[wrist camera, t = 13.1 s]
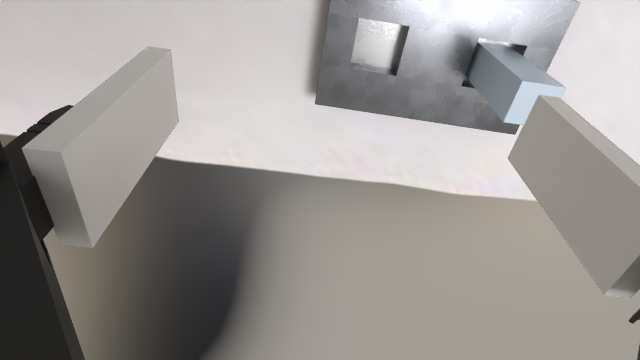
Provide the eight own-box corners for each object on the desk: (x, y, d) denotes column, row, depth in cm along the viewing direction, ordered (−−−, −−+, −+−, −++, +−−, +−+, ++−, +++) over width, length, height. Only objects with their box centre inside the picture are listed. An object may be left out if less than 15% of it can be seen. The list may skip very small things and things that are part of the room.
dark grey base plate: (336, -44, 37) (336, -41, 34) (564, -4, 38) (580, 2, 35) (316, 93, 44) (315, 104, 42) (505, 123, 46) (515, 134, 43)
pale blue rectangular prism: (476, 40, 40) (522, 80, 30) (509, 46, 40) (566, 87, 30) (461, 80, 42) (500, 129, 32) (492, 85, 42) (540, 135, 32)
